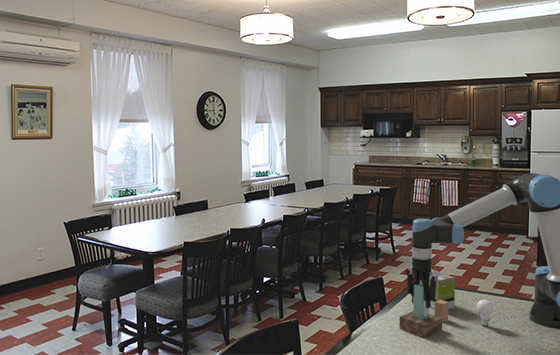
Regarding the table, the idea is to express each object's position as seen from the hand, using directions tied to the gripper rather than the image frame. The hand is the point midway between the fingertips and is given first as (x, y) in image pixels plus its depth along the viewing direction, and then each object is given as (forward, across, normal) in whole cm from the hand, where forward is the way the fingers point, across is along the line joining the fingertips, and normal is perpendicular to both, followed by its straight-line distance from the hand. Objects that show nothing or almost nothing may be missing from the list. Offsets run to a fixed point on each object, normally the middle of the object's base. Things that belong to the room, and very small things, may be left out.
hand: (421, 313), depth 188 cm
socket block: (+7, 0, 0) cm, 7 cm away
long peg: (+4, 0, 0) cm, 4 cm away
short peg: (+7, 0, +15) cm, 16 cm away
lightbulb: (+7, +15, +23) cm, 28 cm away
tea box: (+7, -12, +29) cm, 32 cm away
